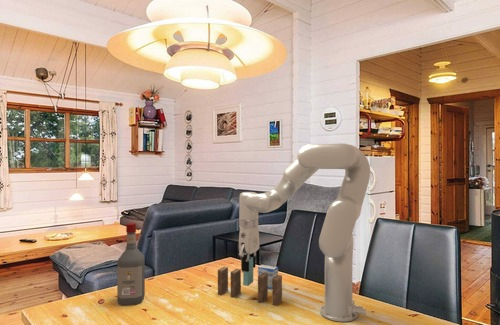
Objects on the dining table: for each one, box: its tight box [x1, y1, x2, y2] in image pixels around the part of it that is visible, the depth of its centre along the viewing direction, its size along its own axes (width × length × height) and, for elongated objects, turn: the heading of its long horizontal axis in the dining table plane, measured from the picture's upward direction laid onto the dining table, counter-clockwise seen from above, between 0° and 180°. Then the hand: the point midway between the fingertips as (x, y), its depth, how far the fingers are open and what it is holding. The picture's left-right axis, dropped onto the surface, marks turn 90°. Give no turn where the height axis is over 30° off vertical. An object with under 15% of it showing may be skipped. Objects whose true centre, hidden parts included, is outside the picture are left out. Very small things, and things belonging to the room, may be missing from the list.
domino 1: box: [217, 266, 229, 296], centre depth 141 cm, size 2×5×10 cm, turn 154°
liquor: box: [116, 222, 146, 307], centre depth 133 cm, size 9×9×30 cm
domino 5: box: [271, 274, 283, 307], centre depth 131 cm, size 2×5×10 cm, turn 154°
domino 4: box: [257, 273, 269, 304], centre depth 134 cm, size 2×5×10 cm, turn 154°
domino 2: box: [230, 268, 242, 299], centre depth 139 cm, size 2×5×10 cm, turn 154°
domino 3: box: [242, 257, 254, 287], centre depth 136 cm, size 2×5×10 cm, turn 154°
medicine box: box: [257, 264, 279, 290], centre depth 148 cm, size 8×4×9 cm, turn 62°
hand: (248, 268), depth 136 cm, fingers closed on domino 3, 4 cm apart
